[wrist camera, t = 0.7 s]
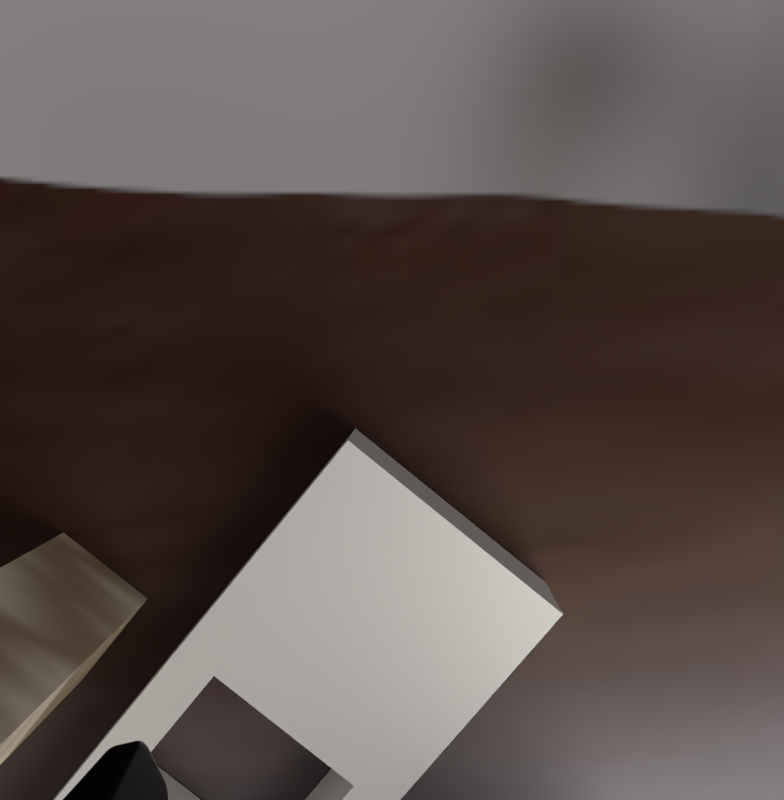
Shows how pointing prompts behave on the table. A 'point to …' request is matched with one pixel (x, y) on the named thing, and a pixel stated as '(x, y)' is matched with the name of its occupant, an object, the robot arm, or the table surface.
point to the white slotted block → (356, 631)
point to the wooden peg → (54, 630)
